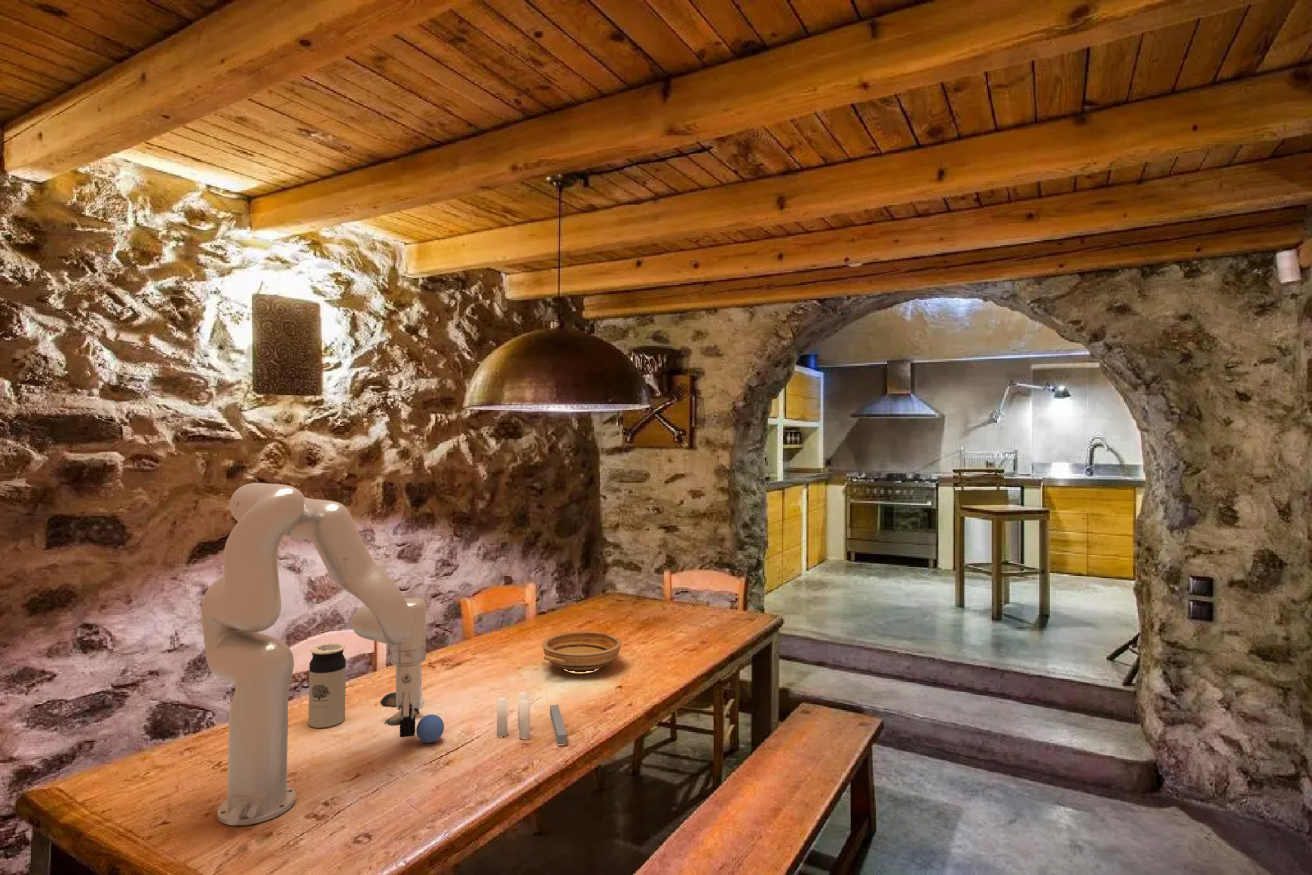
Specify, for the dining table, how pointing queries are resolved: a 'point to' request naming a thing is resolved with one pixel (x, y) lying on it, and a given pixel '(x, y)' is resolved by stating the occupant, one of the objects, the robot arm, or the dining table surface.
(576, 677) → the dining table surface
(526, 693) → the pin
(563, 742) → the gray rectangular bar
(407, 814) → the dining table surface
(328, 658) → the travel mug
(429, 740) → the ball
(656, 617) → the dining table surface
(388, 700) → the eagle figurine
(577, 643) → the ceramic bowl
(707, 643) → the dining table surface
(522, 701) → the pin
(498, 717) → the front pin
